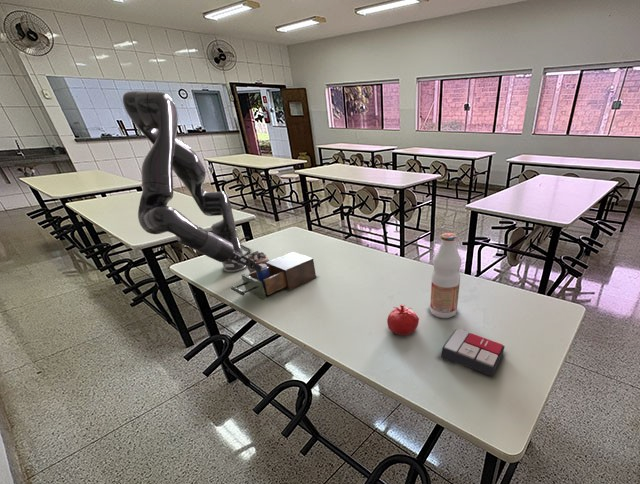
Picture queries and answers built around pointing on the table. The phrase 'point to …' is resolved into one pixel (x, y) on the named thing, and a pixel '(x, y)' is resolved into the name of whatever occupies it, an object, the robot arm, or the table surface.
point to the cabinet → (294, 268)
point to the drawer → (256, 286)
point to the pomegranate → (402, 321)
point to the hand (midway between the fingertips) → (254, 266)
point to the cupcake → (257, 259)
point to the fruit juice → (445, 278)
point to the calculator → (473, 351)
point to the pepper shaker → (263, 274)
